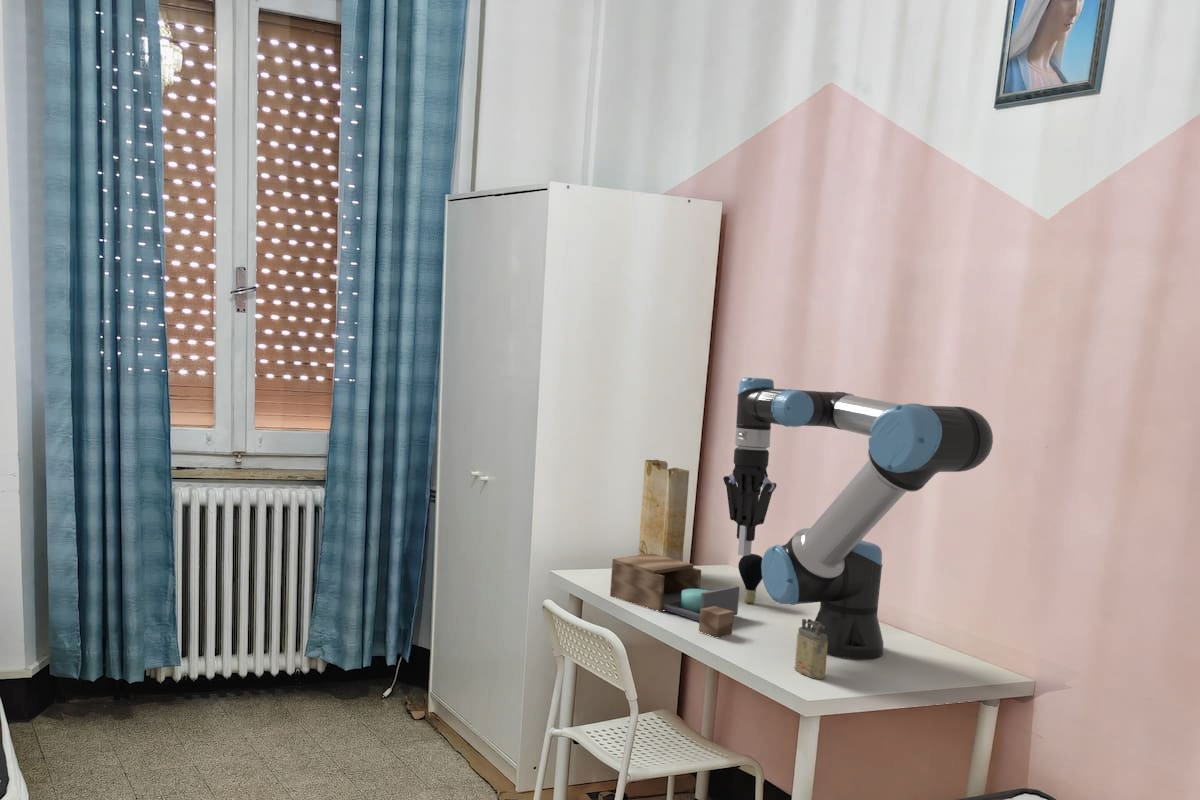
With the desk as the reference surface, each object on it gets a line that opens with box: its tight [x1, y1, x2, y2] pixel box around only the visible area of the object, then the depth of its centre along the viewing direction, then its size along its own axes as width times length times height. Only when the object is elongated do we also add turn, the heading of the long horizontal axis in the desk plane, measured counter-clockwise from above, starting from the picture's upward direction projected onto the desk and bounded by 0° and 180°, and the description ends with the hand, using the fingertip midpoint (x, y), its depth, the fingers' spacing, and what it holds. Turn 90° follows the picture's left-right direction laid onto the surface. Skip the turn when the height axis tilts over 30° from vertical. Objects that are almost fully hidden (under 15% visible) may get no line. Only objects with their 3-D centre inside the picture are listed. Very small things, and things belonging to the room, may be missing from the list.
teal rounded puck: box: [680, 588, 710, 613], centre depth 224 cm, size 8×8×4 cm
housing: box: [609, 553, 702, 612], centre depth 234 cm, size 16×14×9 cm
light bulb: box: [738, 553, 763, 604], centre depth 237 cm, size 7×7×12 cm
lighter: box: [793, 618, 828, 680], centre depth 186 cm, size 7×4×10 cm, turn 28°
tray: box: [662, 585, 740, 622], centre depth 226 cm, size 18×13×6 cm
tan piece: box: [638, 459, 690, 562], centre depth 258 cm, size 23×6×30 cm, turn 13°
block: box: [698, 606, 734, 638], centre depth 209 cm, size 5×5×5 cm
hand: (744, 554), depth 215 cm, fingers closed
